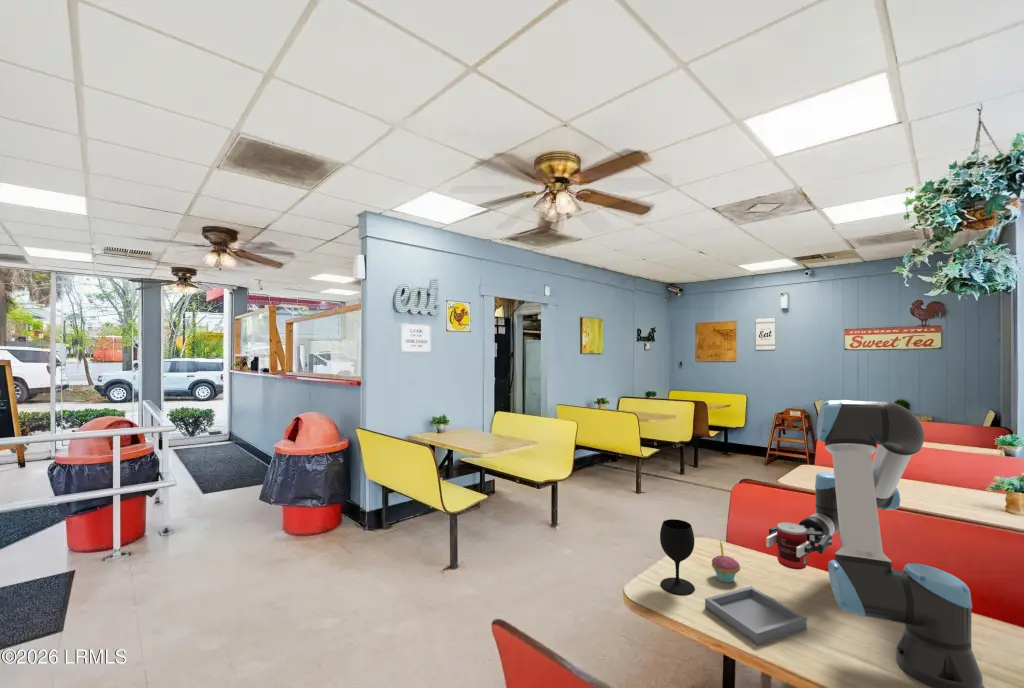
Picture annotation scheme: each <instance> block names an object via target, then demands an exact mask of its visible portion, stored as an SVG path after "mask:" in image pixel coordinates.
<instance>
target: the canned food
mask: <svg viewBox="0 0 1024 688" xmlns="http://www.w3.org/2000/svg"><path fill="white" fill-rule="evenodd" d="M776 526H777V543H776V547H777V548H776V550H777V551H776V554H777V557H776V558H777V561H778V563H779V564H780V565H781V566H783V567H785V568H787V569H791V570H796V571H797V570H804V569H806V568H807V564H808V557H807V556H808V553H806V554H804V555H803V556H801V557H800V558H799V557H797V549H796V547H798V546H799V545H801V544H803V543H805V542H806V541H807V532H806V528H804V527H803V526H801V525H799V523H798V524H797V523H794V522H786V521H785V522H784V521H783V522H779V523H777V524H776ZM807 542H808V541H807Z"/></svg>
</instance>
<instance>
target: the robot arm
mask: <svg viewBox="0 0 1024 688" xmlns="http://www.w3.org/2000/svg"><path fill="white" fill-rule="evenodd" d="M816 436H817V437H816V438H817V440H818V441H819V442H822V443H823V442H824V448H825V450H826V451H827V452H829V453H830V454H831V456H832V457H831V458H832V465H833V473H832V472H828V471H827V472H826V471H824V472H818V473H816V476H815V484H814V489H815V490H814V491H815V493H814V494H815V511H814V512H815V513H813V514H812V515H810V516H808V517H806V518H804V519H802V520H801V521H800V522H799V523H798V525H801V526H803V527H804V528H806V532H807V541H806V542H805V543H803V544H801V545H799V546H798V547H796V549H797V557H799V558H800V557H801V556H803V555H804V554H806V553H807V554H811V553H812V552H813V553H815V552H817V553H818V554H824V552H825V551H826V550H827V548H828V547H829V546H832V545H833V536H834V535H835V534H837V533H839V539H840V542H839V543H840V547H839V549H838V550H837V551H835V553H834V559H832V560H829V561H828V564H827V567H828V578H829V582H830V588H831V590H832V593H833V596H834V599H835V601H836V605H838V607H839V608H840V609H841V610H842V611H843V612H845V613H847V614H852V615H857V616H860V617H861V618H871V619H877V620H882V621H888V622H894V623H900V624H904V626H905V627H904V630H903V633H902V635H901V636H900V639H899V641H898V643H897V645H896V647H895V649H896V650H895V658H896V660H895V661H896V662H897V663H898V665H899V666H900V668H901V669H903V670H904V671H905V672H906V673H907V674H908V675H910V676H912V677H913V678H914V679H916V680H918V681H920V682H921V683H923V684H925V685H928V686H930V687H931V688H932V687H933V688H935V687H936V688H983V686H984V685H983V683H984V682H983V681H984V680H983V675H982V672H981V670H980V666H979V664H978V662H977V659H976V656H975V655H974V654H975V653H974V652H973V648H972V647H973V645H972V609H973V603H972V597H971V595H972V594H971V590H970V588H969V586H968V585H967V584H966V583H965V582H964V581H962V579H960V578H958V577H957V576H955V575H954V574H952V573H949V572H947V571H945V570H942V569H939V568H937V567H933V566H930V565H926V564H923V563H916V562H911V563H910V562H909V563H906V564H905V565H904V567H903V570H899V569H893V563H892V560H891V559H890V558H889V557H888V556H887V555H886V554H885V553H884V552H883V543H882V537H881V535H882V534H881V526H880V520H879V511H878V509H879V510H892V511H893V510H897V509H899V507H900V505H901V494H900V491H899V490H898V489H899V488H897V487H898V485H899V482H900V481H901V478H902V477H903V474H904V473H905V471H906V469H907V466H908V464H909V462H910V460H911V458H912V456H913V455H916V454H917V453H919V452H920V450H921V449H922V447H923V445H924V442H925V431H924V427H923V425H922V423H921V421H920V420H919V419H918V417H917V415H915V414H914V413H913V412H912V411H910V410H909V409H908V408H906V407H904V406H903V405H900V404H897V403H895V402H890V401H883V400H882V401H873V400H872V401H869V400H848V399H837V400H833V399H830V400H825V401H824V402H822V403H821V405H820V407H819V410H818V416H817V422H816ZM873 454H875V455H874V457H873V459H872V456H873ZM765 543H766V544H765V545H766V548H770V547H772V546H774V545H777V525H776V526H773V527H769V528H768V536H767V537H766V538H765Z"/></svg>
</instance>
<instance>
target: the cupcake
mask: <svg viewBox="0 0 1024 688" xmlns="http://www.w3.org/2000/svg"><path fill="white" fill-rule="evenodd" d="M719 541H720V542H719V545H720V555H717V556H715V557H713V558H712V560H711V567H712V569H713V570H714V571H715V574H716V577H717V579H718V580H719V581H721V582H724V583H732V582H733V581H734V580H735V577H736V574H737V573H739V572H740V570H741V565H740V563H739V562H738V561H737V560H735V558H734V557H731V556H728V555H724V554H725V553H724V547H723V542H722V541H721V540H719Z"/></svg>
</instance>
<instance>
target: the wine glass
mask: <svg viewBox="0 0 1024 688" xmlns="http://www.w3.org/2000/svg"><path fill="white" fill-rule="evenodd" d="M659 532H660V533H659V542H660V546H661V548H662V550H663V552H664V553H665V555H666V556H667V557H668V558H670V560H672V561H673V562H674V567H675V577H666V578H664V579H662V580H661V581H660V587H661V588H662V589H663V591H665V592H667V593H669V594H673V595H675V596H676V595H677V596H688V595H692V594H693V593H694V592H695V591H696V590H695V589H696V588H695V585H694V584H693V583H692V582H690V581H689V580H686V579H684V578H680V563H681V562H683V561H685V560H686V559H688V558H689V557H690V556H691V555H692V553H693V551H694V547H695V535H694V530H693V527H692V524H691V523H689V522H688V521H685V520H681V519H673V518H672V519H665V520H663V521H662V524H661V527H660V531H659Z"/></svg>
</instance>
